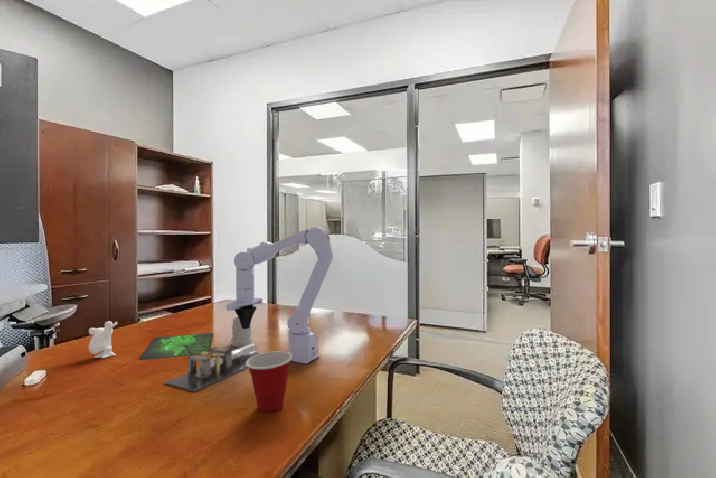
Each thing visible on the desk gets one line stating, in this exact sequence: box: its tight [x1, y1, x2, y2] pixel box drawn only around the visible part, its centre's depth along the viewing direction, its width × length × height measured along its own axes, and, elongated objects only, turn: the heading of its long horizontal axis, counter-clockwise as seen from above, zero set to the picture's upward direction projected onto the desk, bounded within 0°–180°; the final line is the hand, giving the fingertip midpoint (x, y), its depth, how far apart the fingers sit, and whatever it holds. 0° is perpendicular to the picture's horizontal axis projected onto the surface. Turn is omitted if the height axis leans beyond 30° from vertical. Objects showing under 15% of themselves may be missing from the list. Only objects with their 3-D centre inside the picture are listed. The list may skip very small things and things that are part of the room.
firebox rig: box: [163, 346, 262, 393], centre depth 113 cm, size 12×31×6 cm, turn 154°
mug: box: [230, 316, 253, 348], centre depth 141 cm, size 8×12×12 cm, turn 15°
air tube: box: [199, 342, 258, 372], centre depth 115 cm, size 20×3×4 cm, turn 154°
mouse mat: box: [138, 332, 214, 361], centre depth 137 cm, size 27×22×1 cm
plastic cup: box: [246, 350, 292, 414], centre depth 88 cm, size 11×11×12 cm
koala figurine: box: [88, 320, 118, 359], centre depth 124 cm, size 8×7×12 cm
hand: (245, 328), depth 123 cm, fingers closed
